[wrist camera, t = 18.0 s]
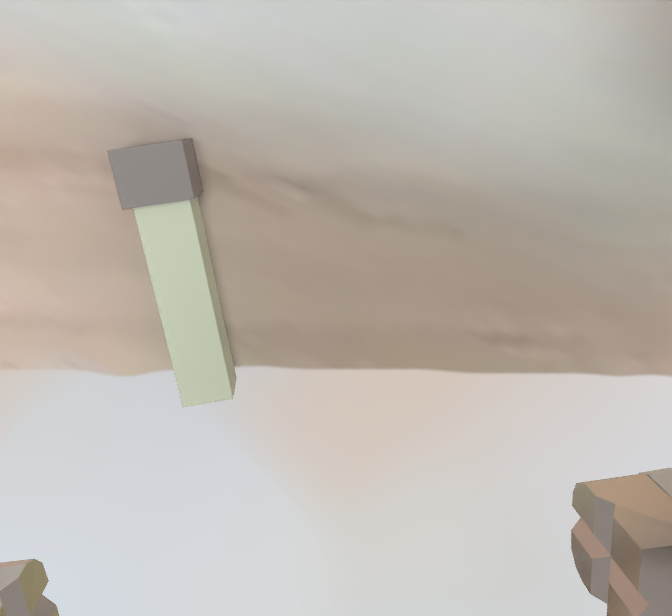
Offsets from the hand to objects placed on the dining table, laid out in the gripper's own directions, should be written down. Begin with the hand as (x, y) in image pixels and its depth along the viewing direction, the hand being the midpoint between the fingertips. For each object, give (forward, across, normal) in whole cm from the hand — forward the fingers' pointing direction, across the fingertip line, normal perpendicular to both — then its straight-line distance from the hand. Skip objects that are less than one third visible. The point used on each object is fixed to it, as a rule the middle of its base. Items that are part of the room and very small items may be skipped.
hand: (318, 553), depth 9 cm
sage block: (+39, -9, -4) cm, 40 cm away
